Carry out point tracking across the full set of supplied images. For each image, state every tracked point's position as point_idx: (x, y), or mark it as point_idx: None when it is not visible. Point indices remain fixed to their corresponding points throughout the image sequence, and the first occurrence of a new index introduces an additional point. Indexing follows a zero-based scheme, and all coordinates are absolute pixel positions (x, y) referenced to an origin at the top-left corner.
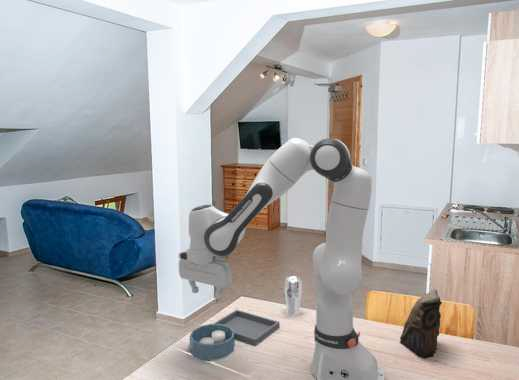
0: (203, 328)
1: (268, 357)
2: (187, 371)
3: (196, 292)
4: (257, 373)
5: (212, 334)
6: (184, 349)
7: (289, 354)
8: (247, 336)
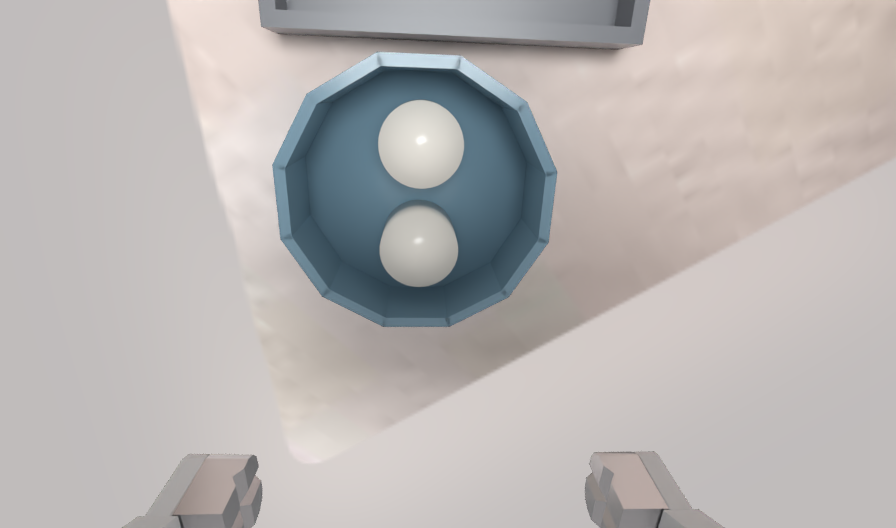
0: (296, 149)
1: (716, 99)
2: (442, 372)
3: (259, 491)
4: (709, 242)
5: (397, 175)
6: None
7: (817, 7)
8: (576, 31)
